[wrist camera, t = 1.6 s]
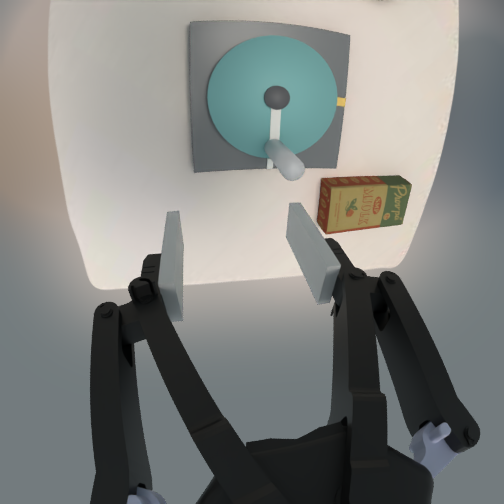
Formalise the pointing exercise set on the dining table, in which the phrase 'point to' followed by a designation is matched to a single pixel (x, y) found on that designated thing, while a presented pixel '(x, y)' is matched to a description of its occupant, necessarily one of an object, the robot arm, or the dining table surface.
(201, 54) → the base plate
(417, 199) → the dining table surface
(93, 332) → the robot arm
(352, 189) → the carton
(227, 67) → the dial
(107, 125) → the dining table surface
